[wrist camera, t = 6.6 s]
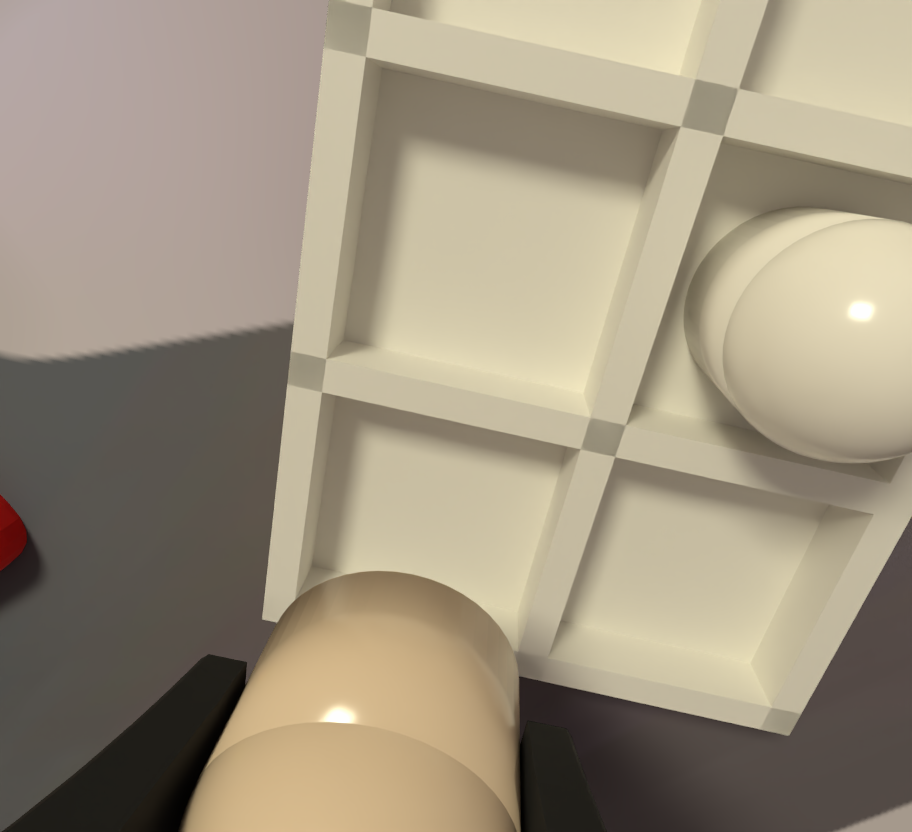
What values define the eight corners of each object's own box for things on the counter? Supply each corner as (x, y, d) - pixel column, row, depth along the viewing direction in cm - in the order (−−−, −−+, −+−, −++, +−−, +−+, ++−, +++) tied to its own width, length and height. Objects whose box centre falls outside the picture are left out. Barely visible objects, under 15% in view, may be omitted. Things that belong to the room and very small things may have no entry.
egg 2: (923, 230, 14) (1146, 270, 9) (836, 416, 15) (983, 534, 11) (723, 186, 14) (837, 201, 9) (657, 376, 15) (723, 476, 11)
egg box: (1228, -247, 11) (1389, -338, 9) (759, 674, 19) (789, 735, 17) (411, -427, 11) (389, -559, 9) (288, 570, 19) (262, 619, 17)
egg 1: (547, 603, 10) (578, 992, 6) (488, 789, 12) (472, 1211, 7) (280, 545, 10) (78, 883, 6) (258, 740, 12) (88, 1129, 7)
